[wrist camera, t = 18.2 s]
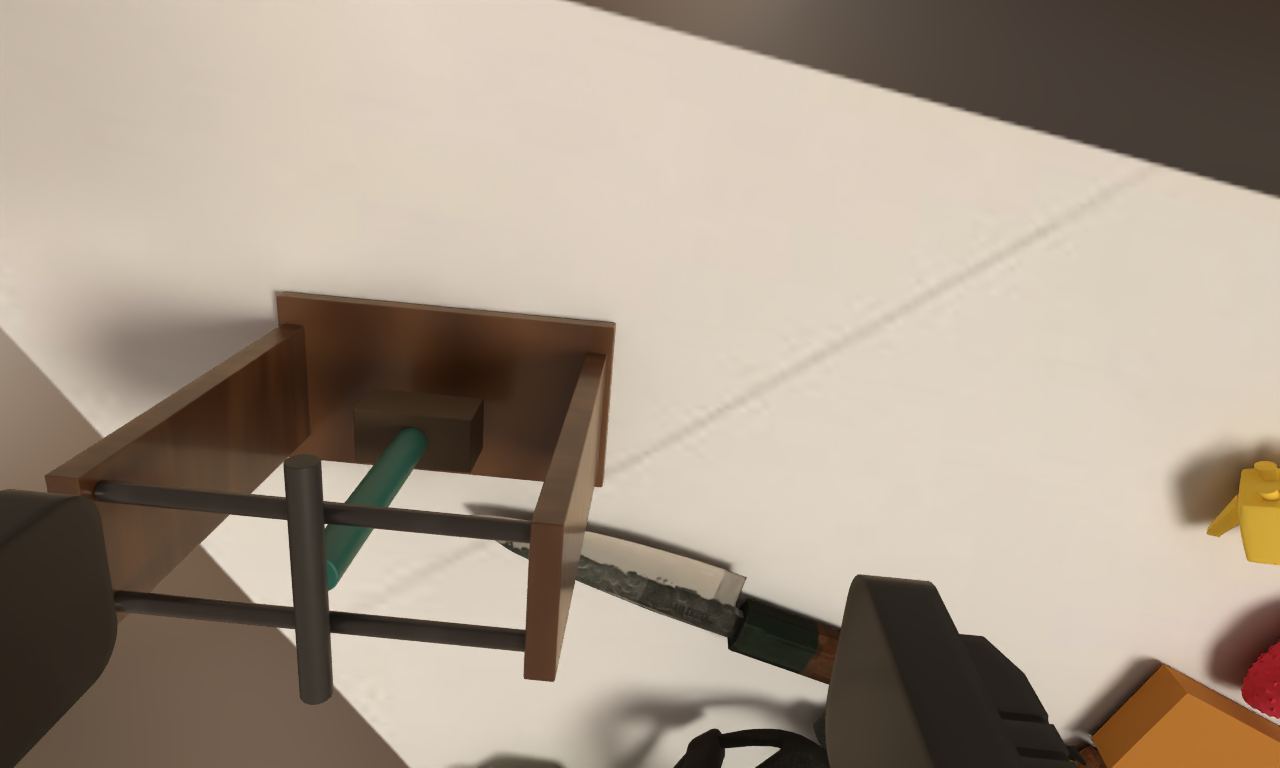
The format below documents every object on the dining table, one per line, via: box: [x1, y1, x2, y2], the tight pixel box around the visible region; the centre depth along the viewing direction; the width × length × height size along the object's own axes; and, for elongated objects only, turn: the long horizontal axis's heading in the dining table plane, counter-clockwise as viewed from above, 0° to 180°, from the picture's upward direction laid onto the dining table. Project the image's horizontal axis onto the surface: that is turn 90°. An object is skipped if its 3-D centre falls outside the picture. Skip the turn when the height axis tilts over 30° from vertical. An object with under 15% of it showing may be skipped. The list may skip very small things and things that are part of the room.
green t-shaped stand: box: [284, 388, 484, 705], centre depth 38 cm, size 6×10×16 cm, turn 175°
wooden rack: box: [45, 292, 616, 682], centre depth 40 cm, size 19×10×20 cm, turn 85°
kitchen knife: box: [471, 515, 840, 684], centre depth 52 cm, size 36×2×5 cm
